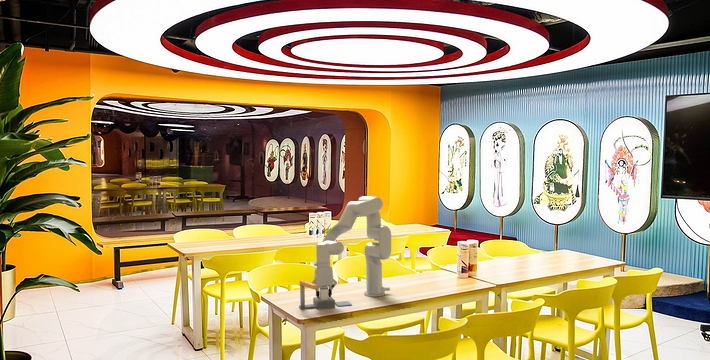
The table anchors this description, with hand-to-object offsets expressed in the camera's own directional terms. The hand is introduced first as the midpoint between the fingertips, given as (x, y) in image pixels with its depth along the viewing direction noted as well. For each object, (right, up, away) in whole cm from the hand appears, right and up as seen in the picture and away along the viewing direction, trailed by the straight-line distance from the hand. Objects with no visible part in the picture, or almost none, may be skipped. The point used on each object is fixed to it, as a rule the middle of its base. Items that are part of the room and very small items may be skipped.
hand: (323, 297), depth 279 cm
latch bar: (-8, +8, -9) cm, 14 cm away
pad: (+11, -5, +3) cm, 12 cm away
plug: (0, -5, 0) cm, 5 cm away
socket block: (-4, -5, -1) cm, 7 cm away
